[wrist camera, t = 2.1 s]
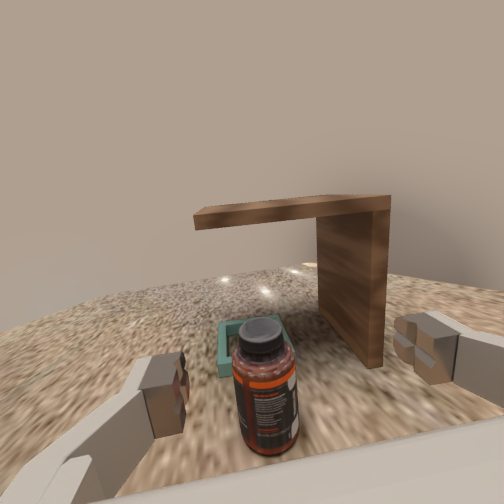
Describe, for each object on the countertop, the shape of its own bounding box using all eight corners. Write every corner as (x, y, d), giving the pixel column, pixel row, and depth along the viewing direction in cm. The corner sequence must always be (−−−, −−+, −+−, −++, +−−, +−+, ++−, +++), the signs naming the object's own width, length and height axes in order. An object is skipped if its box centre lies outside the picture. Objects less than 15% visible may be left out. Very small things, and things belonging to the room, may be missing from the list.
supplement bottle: (312, 433, 23) (308, 330, 20) (262, 474, 20) (249, 360, 17) (275, 392, 28) (268, 305, 25) (230, 420, 25) (216, 326, 22)
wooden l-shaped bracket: (220, 394, 28) (193, 215, 23) (221, 324, 44) (204, 206, 39) (382, 366, 30) (391, 194, 25) (328, 308, 46) (326, 194, 41)
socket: (219, 377, 31) (217, 364, 31) (220, 333, 41) (218, 322, 41) (296, 364, 32) (295, 352, 32) (278, 324, 42) (277, 314, 42)
